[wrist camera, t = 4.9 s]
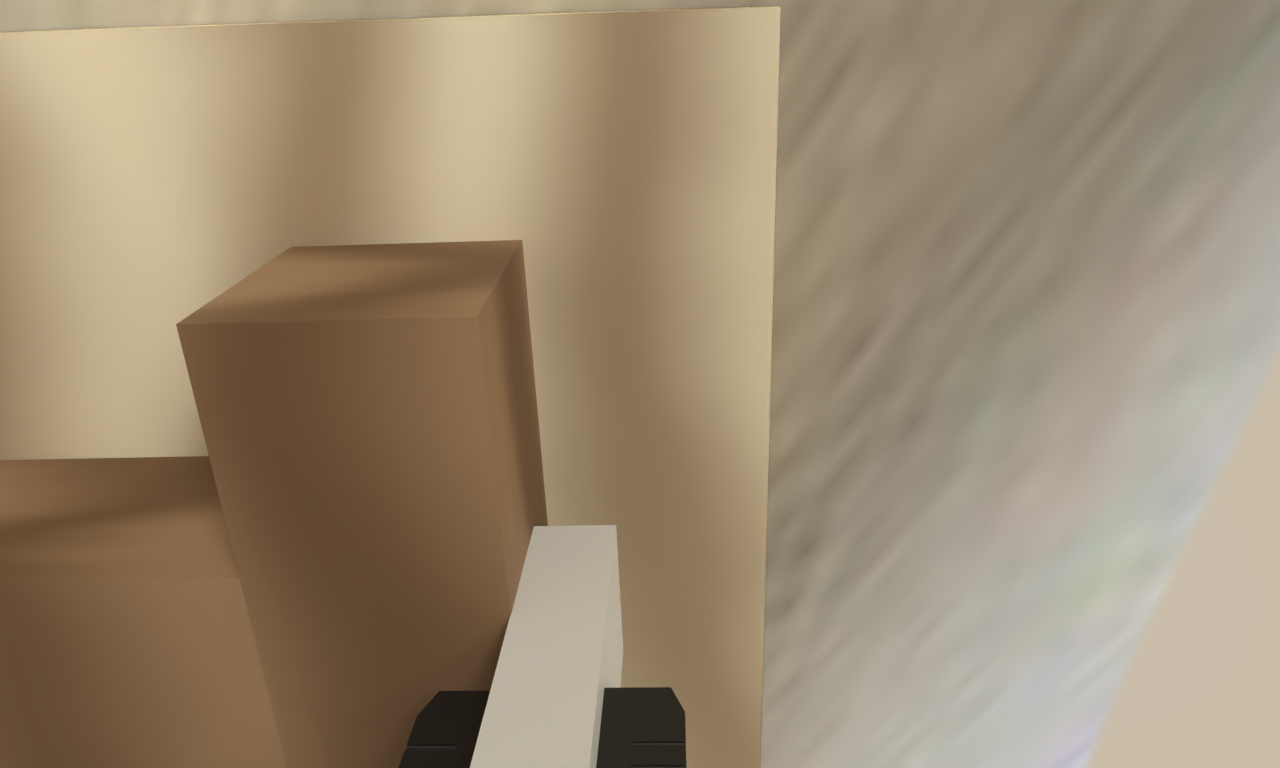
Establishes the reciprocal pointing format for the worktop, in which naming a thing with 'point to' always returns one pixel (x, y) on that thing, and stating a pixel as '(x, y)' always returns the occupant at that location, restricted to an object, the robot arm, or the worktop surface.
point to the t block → (287, 527)
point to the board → (427, 213)
